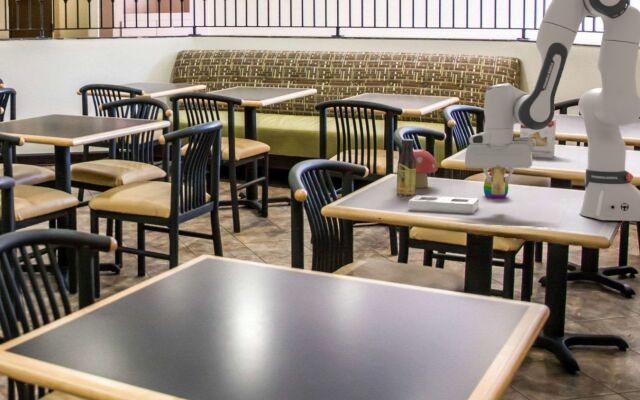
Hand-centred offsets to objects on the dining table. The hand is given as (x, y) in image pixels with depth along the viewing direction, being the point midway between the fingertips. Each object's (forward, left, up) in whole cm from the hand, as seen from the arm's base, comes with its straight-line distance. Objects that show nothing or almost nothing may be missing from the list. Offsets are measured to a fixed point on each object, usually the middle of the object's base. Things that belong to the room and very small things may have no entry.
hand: (498, 182), depth 286 cm
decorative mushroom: (+32, -33, -10) cm, 47 cm away
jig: (+17, 0, -9) cm, 19 cm away
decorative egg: (+4, -26, -10) cm, 28 cm away
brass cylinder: (0, 0, -4) cm, 4 cm away
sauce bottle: (+33, -18, -10) cm, 38 cm away
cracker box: (-2, -117, -10) cm, 118 cm away
